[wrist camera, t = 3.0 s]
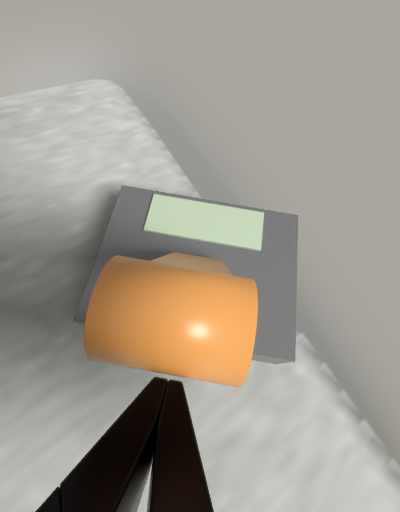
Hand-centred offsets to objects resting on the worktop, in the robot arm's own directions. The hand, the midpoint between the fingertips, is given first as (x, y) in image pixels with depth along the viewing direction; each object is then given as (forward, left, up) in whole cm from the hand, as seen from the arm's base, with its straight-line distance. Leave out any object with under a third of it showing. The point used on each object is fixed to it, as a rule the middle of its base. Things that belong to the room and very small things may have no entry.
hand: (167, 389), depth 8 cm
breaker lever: (+6, -3, -7) cm, 10 cm away
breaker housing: (+6, -3, -11) cm, 13 cm away
